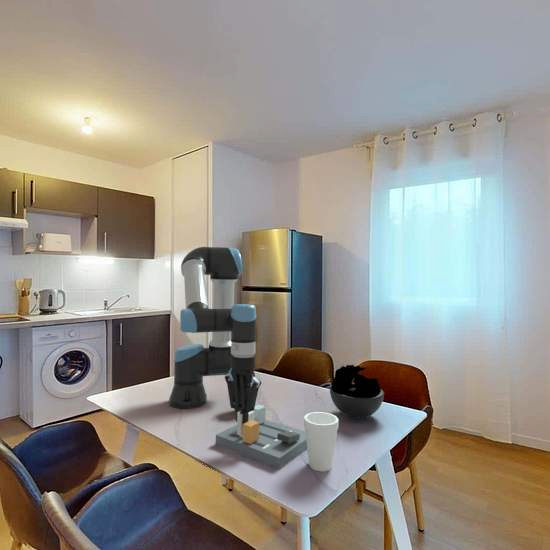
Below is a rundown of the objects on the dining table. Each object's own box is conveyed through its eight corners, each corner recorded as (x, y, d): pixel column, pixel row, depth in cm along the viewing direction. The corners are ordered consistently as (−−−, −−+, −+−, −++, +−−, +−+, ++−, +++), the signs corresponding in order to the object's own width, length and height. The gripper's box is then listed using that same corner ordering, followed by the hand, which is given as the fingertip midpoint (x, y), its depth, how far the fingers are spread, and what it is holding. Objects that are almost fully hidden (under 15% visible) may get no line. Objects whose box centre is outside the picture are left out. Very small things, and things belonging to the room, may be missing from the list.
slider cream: (239, 428, 114) (239, 413, 114) (247, 424, 118) (247, 409, 118) (246, 431, 113) (246, 415, 113) (254, 427, 116) (254, 411, 116)
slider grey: (251, 422, 119) (251, 407, 119) (258, 419, 123) (258, 404, 123) (258, 425, 118) (258, 409, 118) (265, 421, 121) (265, 406, 121)
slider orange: (242, 441, 106) (242, 424, 106) (251, 436, 109) (251, 420, 109) (250, 443, 104) (250, 426, 104) (258, 439, 107) (259, 422, 107)
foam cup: (301, 457, 103) (302, 412, 104) (332, 456, 104) (333, 411, 104) (307, 475, 94) (307, 425, 94) (341, 474, 95) (342, 424, 95)
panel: (215, 444, 111) (215, 432, 111) (253, 424, 126) (254, 414, 126) (279, 469, 97) (279, 455, 97) (313, 443, 112) (313, 431, 112)
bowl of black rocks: (348, 403, 149) (349, 358, 150) (393, 417, 135) (393, 367, 136) (318, 416, 135) (319, 366, 136) (365, 432, 121) (366, 376, 121)
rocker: (277, 439, 105) (277, 433, 105) (287, 436, 109) (288, 430, 110) (288, 442, 102) (289, 437, 103) (299, 440, 107) (299, 434, 107)
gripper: (218, 354, 109) (217, 431, 109) (251, 360, 102) (250, 443, 101) (235, 350, 116) (234, 424, 115) (267, 356, 108) (266, 434, 108)
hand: (241, 433), depth 108 cm, fingers closed
